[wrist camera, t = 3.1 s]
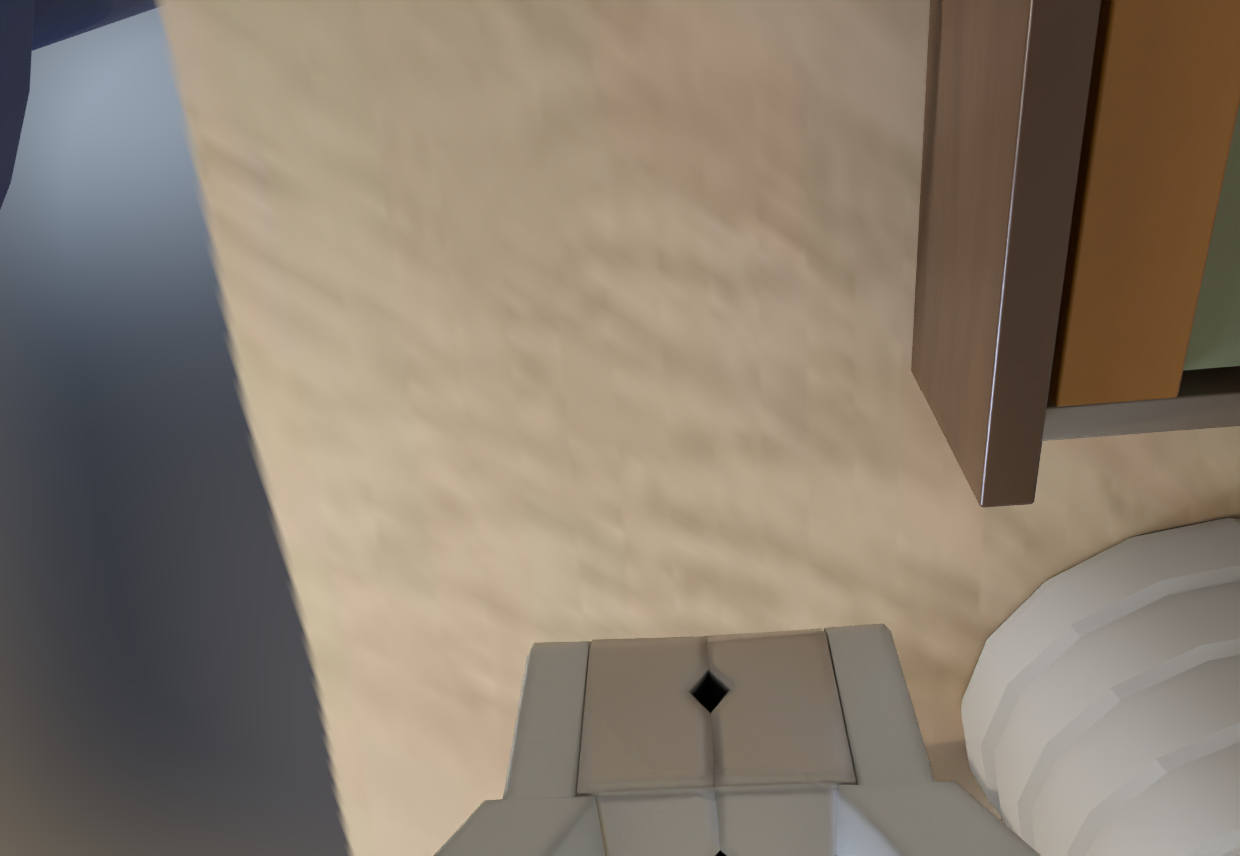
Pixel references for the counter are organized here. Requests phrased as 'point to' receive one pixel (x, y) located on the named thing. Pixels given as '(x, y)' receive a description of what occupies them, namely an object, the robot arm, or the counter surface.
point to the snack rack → (1077, 227)
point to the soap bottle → (1118, 702)
